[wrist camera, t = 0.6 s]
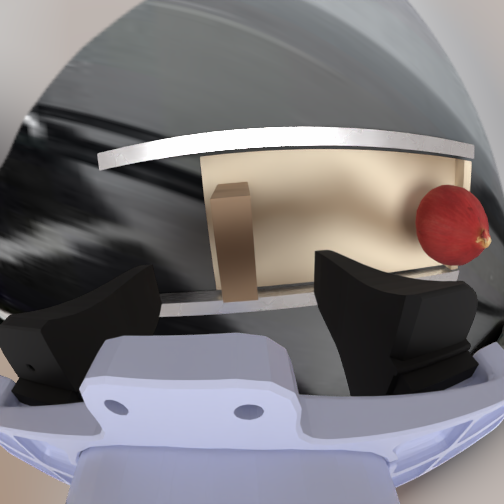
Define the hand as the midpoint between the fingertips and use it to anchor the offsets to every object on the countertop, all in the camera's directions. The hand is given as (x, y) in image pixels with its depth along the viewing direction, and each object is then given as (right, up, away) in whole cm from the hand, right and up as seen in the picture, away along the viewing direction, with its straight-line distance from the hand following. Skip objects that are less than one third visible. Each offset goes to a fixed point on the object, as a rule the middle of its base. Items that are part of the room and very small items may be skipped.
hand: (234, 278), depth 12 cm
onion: (+15, +4, +8) cm, 17 cm away
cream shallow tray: (+9, +4, +8) cm, 12 cm away
